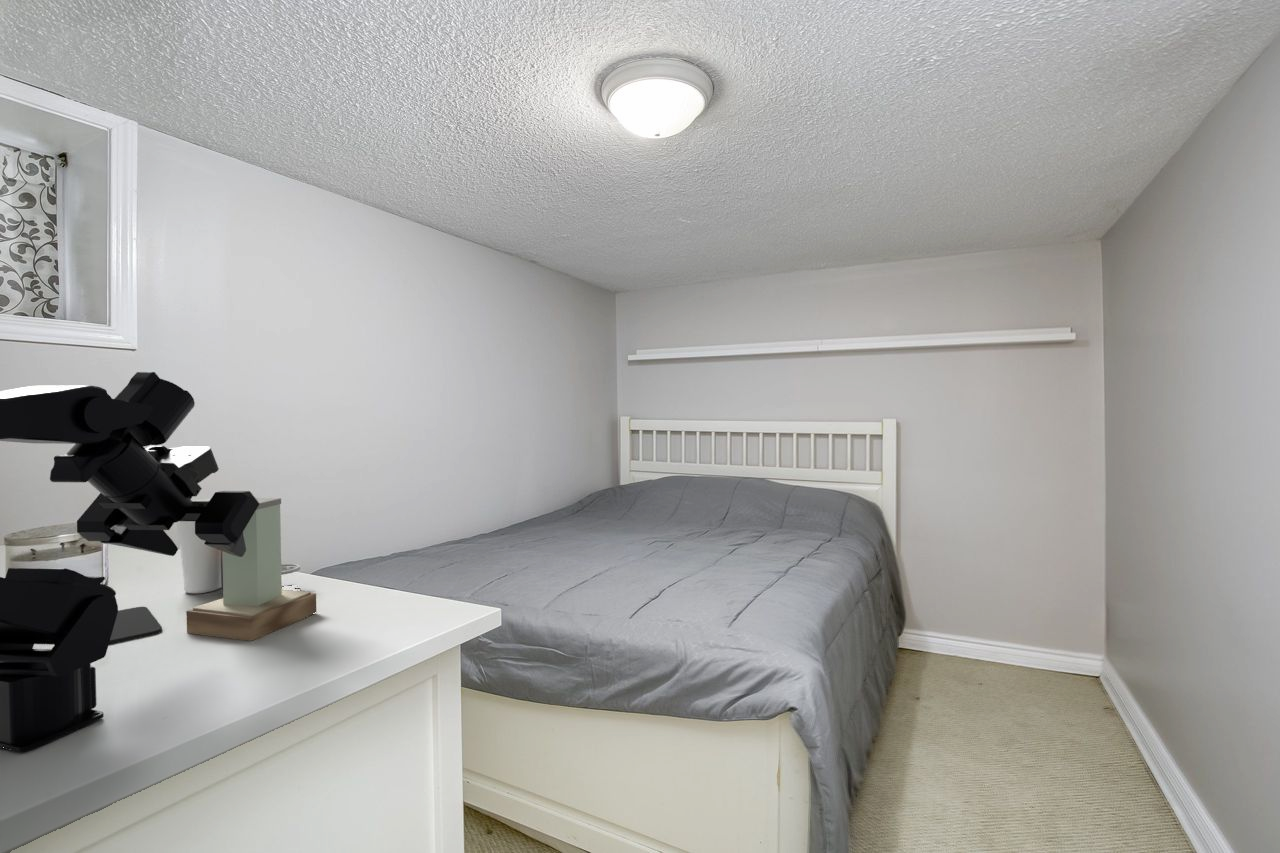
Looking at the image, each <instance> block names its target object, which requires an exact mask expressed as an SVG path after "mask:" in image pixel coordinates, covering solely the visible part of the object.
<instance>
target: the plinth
mask: <svg viewBox="0 0 1280 853" xmlns="http://www.w3.org/2000/svg"><path fill="white" fill-rule="evenodd" d="M315 612H316V613H317V593H316V592H315V593H313V592H311V591H302V590H301V591H293V590H283V589H282V595H280V596H278V597H276V598H274V599H272V600H270V601H267V602H265V603H263V604H261V605H259V606H234V605H223V597H222V598H220V599H215V600H213V601H210V602H207V603H204V604H200V605H198V606H195V607H192V609H189V610H186V612H185V613H186V633H187V634H194V635H201V636H210V637H218V638H224V639H230V640H231V639H234V640H240V641H248V642H251V641H253V640H256V639H259V638H262V637H263V636H266V635H269V634H271V633H274V632H275V631H278V630H281V629H282V628H283V629H284V628H286V627H287V626H289V625H293V624H295V623H297V622H299V621H302V620H304V619H306V618H305V617H307V616H309V615H311V614H313V613H315ZM311 616H312V615H311ZM309 617H310V616H309ZM303 618H304V619H303ZM307 618H308V617H307ZM301 619H302V620H301Z"/></svg>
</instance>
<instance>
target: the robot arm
mask: <svg viewBox="0 0 1280 853" xmlns="http://www.w3.org/2000/svg"><path fill="white" fill-rule="evenodd" d="M194 407H195V399H194V397H193V395H192V394H191V393H190V392H189V391H188V390H185V389H184V388H183V387H181V386H179V385H177V384H175V383H174V382H171V381H169V380H166V379H164V378H160V377H159V375H158V374H157V373H156V372H155V371H137V372H135V374H134V375H133V376H132V377H131V378H130V379H129V382H128V383H127V385H126V386H125V387H124V388H123V389H122V390H121V391H120V392H119V393H118V394H117V395H116V397H114V398H112V396H111V395H109V393H108V392H107V389H105V388H103V387H102V386H96V385H29V386H23V387H18V388H17V387H16V388H11V389H5V390H0V442H7V443H21V444H22V443H23V444H24V443H27V444H55V445H56V444H65V445H67V444H71V445H72V444H74V445H73V446H72V447H71V448H70V449H69V450H68V451H67V452H66V453H65V454H64V455H61V454H58V455H55V456H54V457H53V462H54V463H53V466H52V468H51V470H50V475H49V480H50V482H52V483H89V484H90V485H91V486H92V487H94V488H95V489H96V490H97V491H98V492H99V495H97V497H96V498H95V499H94V500H93V501H92V502H91V504H90V505H89V506H88V507H87V508H86V510H85V511H84V512H83V513H82V514H81V516H80V517H79V518H78V519H77V521H76V532H77V534H78V535H80V536H81V537H82V538H84V539H85V540H86V541H87V542H100V543H101V544H104V545H111V546H112V545H114V546H117V547H122V548H130V549H134V550H140V551H145V552H150V553H155V554H160V555H166V556H169V557H175V555H176V554H177V552H178V551H179V547H178V546H177V545H176V544H175V542H174V541H173V540H172V538H171V537H170V536H169V535H168V534H167V532H166V531H170V529H171V528H172V526H174V524H175V523H176V524H177V522H178V521H196V522H195V534H196V535H197V536H198V537H199V538H200V539H202V540H204V541H206V542H205V543H204V544H205V545H207V546H210V547H212V548H215V549H218V550H221V551H223V552H226V553H229V554H231V555H235V556H238V557H243V555H244V554H245V552H246V546H245V541H244V536H243V531H244V529H245V528H246V526H247V524H248V523H249V521H250V519H251V518H252V516H253V514H254V512H255V511H256V509H257V507H258V506H259V502H258V500H257V499H256V498H257V497H255V496H254V495H253V493H252V492H251V491H250V490H221V491H215V492H214V493H213V495H212V497H211V498H209V499H210V501H192V500H193V499H192V498H193V497H197V496H198V495H199V494H200V492H201V491H202V489H203V488H202V487H201V486H200V485H199V483H201V482H202V481H204V480H205V479H206V478H208V477H209V476H210V475H212V474H216V473H217V472H218V471H219V468H220V467H218V466H219V465H218V463H217V461H216V458H215V456H214V453H213V450H212V448H211V446H207V445H204V446H203V445H202V446H201V445H199V446H198V445H195V446H194V445H185V446H178V447H169V448H167V447H166V446H165V445H163V444H165V443H166V442H167V441H168V440H169V439H170V438H171V436H172V435H173V434H174V432H175V431H176V430H177V429H178V427H179V426H180V425H181V424H182V422H183V421H184V420H185V419H186V417H187V416H188V415H189V413H190V412H191V411H192V410H193V408H194ZM145 447H146V448H145ZM105 580H106V577H105V576H89V575H88V576H86V575H84V574H82V573H80V572H78V571H76V570H72V569H69V568H66V567H65V568H61V567H59V568H58V567H57V568H55V567H53V568H52V567H49V568H48V567H8V569H7V571H6V574H5V576H4V577H2V576H0V747H2V748H1V749H3V747H4V748H7V749H6V750H8V749H11V750H10V751H12V750H13V751H14V752H17V753H18V752H19V753H24V752H28V751H30V750H33V749H35V748H38V747H39V746H42V745H44V744H46V743H49V742H51V741H53V740H55V739H58V738H60V737H63V736H64V735H67V734H69V733H72V732H74V731H76V730H78V729H81V728H83V727H86V726H87V725H89V724H91V723H93V722H94V723H95V722H96V721H99V720H102V718H104V717H105V716H104V711H101V710H96V709H95V708H96V706H97V704H98V703H97V673H96V670H97V669H96V667H95V666H92V665H91V664H92V663H94V662H97V661H100V660H101V659H104V658H105V657H106V655H107V652H108V647H109V646H110V645H109V642H110V638H111V635H112V631H113V628H114V624H115V621H116V617H117V613H118V611H119V605H118V602H117V598H116V594H117V592H116V590H115V589H113V587H111V586H109V585H107V584H104V583H103V582H104V581H105ZM102 583H103V584H102ZM34 645H53V646H52V648H34Z"/></svg>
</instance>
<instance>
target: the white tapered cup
mask: <svg viewBox="0 0 1280 853" xmlns="http://www.w3.org/2000/svg"><path fill="white" fill-rule="evenodd" d="M210 499H211V498H201V499H191V500H192V501H210ZM195 522H196V521H178V522H176V527H177V528H176V529H177V536H178V544H179V551H180V552H179V553H180V560H181V567H182V576H183V590H184V591H185V593H188V594H196V595H197V594H204V593H205V594H206V593H210V592H214V591H217V590H219V589H222V584H221V550H218V549H215V548H212V547H210V546H207V545H205V544H204V543H205V542H206V541H204V540H202V539H200V538H199V537H198V536H197V535H196V534H195Z"/></svg>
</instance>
